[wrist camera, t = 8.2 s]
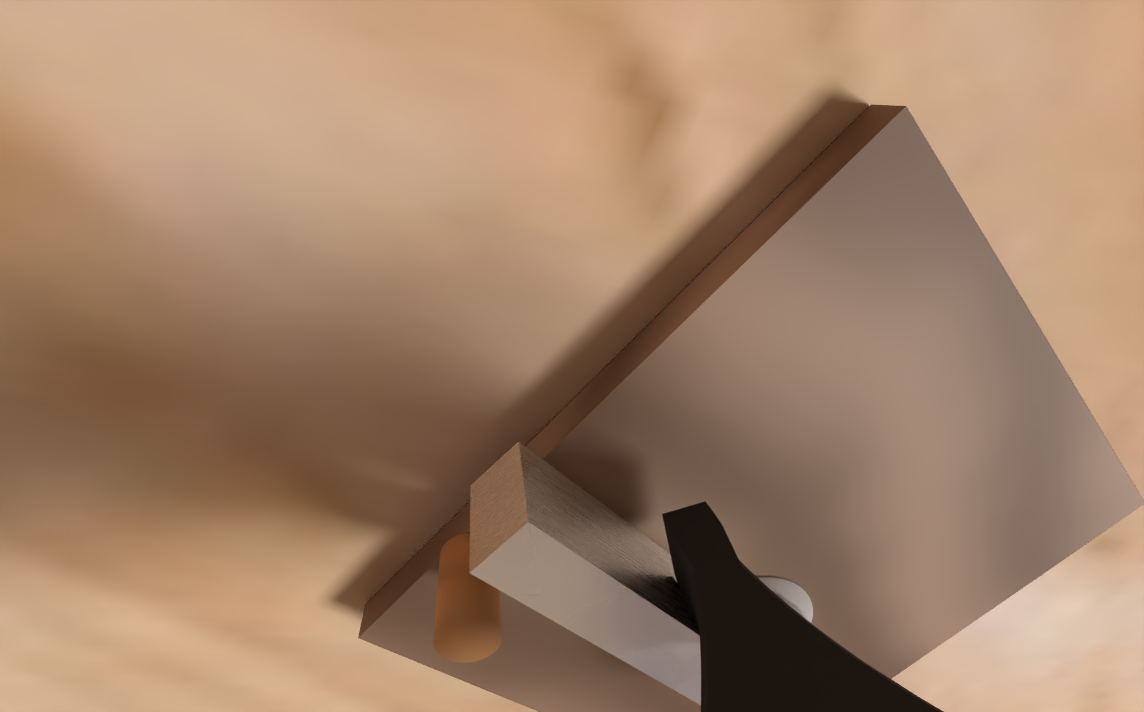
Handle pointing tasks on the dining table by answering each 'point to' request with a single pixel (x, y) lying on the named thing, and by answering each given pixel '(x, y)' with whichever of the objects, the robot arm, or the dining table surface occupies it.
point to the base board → (809, 438)
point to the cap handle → (583, 568)
